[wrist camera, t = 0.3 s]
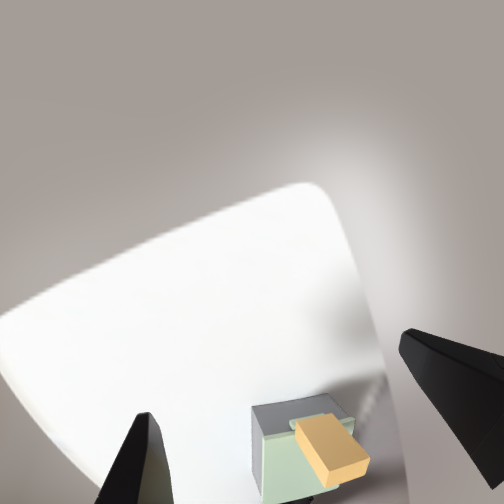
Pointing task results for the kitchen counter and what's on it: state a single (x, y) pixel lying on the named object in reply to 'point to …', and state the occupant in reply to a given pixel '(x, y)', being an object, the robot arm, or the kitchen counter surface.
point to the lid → (310, 458)
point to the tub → (284, 422)
